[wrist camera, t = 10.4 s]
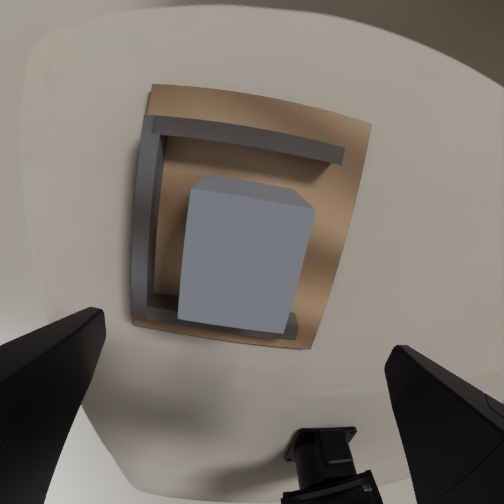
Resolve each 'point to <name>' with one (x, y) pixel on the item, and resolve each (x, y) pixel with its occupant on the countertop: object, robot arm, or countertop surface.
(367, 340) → the countertop surface
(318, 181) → the dock
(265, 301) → the block
